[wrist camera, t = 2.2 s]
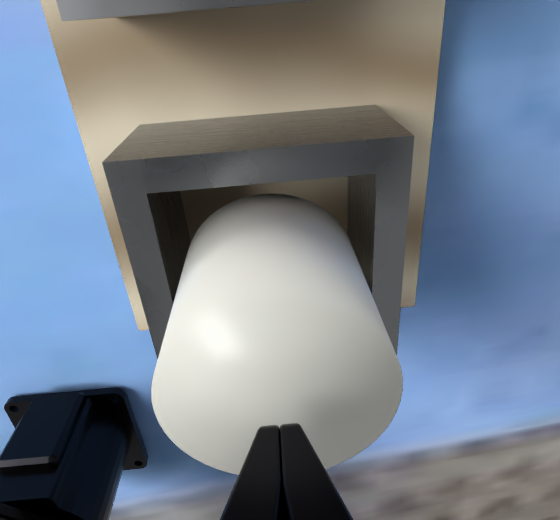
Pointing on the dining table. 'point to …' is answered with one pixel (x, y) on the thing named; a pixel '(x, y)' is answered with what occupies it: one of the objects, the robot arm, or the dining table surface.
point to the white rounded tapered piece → (274, 337)
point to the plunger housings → (254, 175)
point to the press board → (253, 89)
